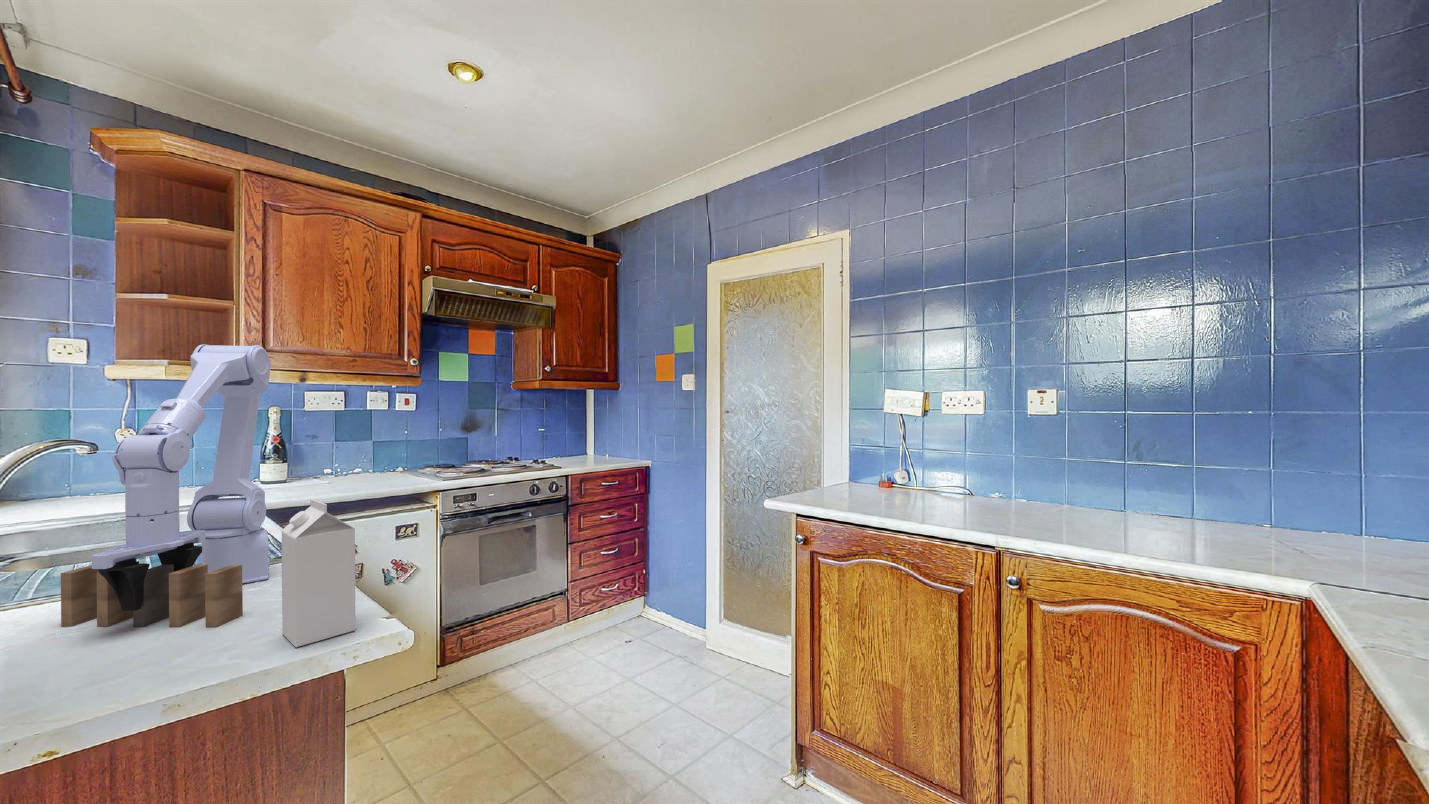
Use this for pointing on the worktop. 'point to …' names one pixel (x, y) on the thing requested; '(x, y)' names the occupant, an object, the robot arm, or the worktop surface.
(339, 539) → the milk carton
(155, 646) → the worktop surface
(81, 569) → the domino
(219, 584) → the domino
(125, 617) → the domino
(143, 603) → the ebony domino
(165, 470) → the robot arm
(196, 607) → the domino
